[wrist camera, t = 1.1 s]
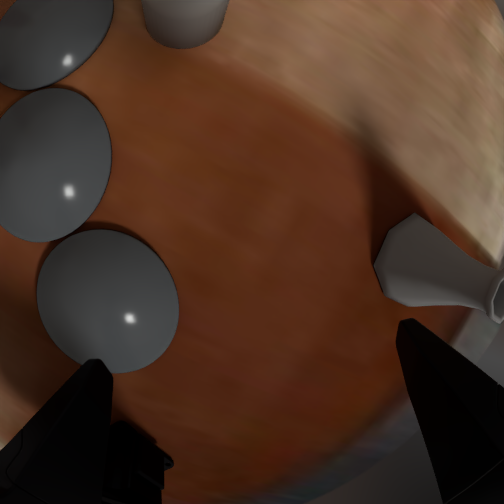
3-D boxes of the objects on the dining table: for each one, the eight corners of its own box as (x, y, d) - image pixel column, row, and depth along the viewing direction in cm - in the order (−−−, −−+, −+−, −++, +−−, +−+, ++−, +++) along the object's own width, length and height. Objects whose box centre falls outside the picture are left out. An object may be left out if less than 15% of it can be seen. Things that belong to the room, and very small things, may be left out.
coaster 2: (104, 390, 21) (103, 394, 20) (15, 286, 18) (12, 288, 17) (209, 320, 21) (209, 323, 21) (116, 196, 18) (114, 196, 18)
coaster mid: (31, 270, 18) (28, 272, 17) (-32, 157, 15) (-36, 157, 15) (142, 177, 18) (141, 176, 18) (68, 61, 16) (65, 59, 15)
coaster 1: (17, 119, 16) (14, 118, 15) (-20, 35, 13) (-23, 33, 12) (138, 29, 16) (137, 25, 16) (84, -42, 14) (82, -46, 13)
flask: (357, 266, 23) (452, 314, 13) (412, 195, 23) (515, 208, 13) (403, 319, 25) (486, 372, 15) (451, 255, 25) (539, 284, 15)
